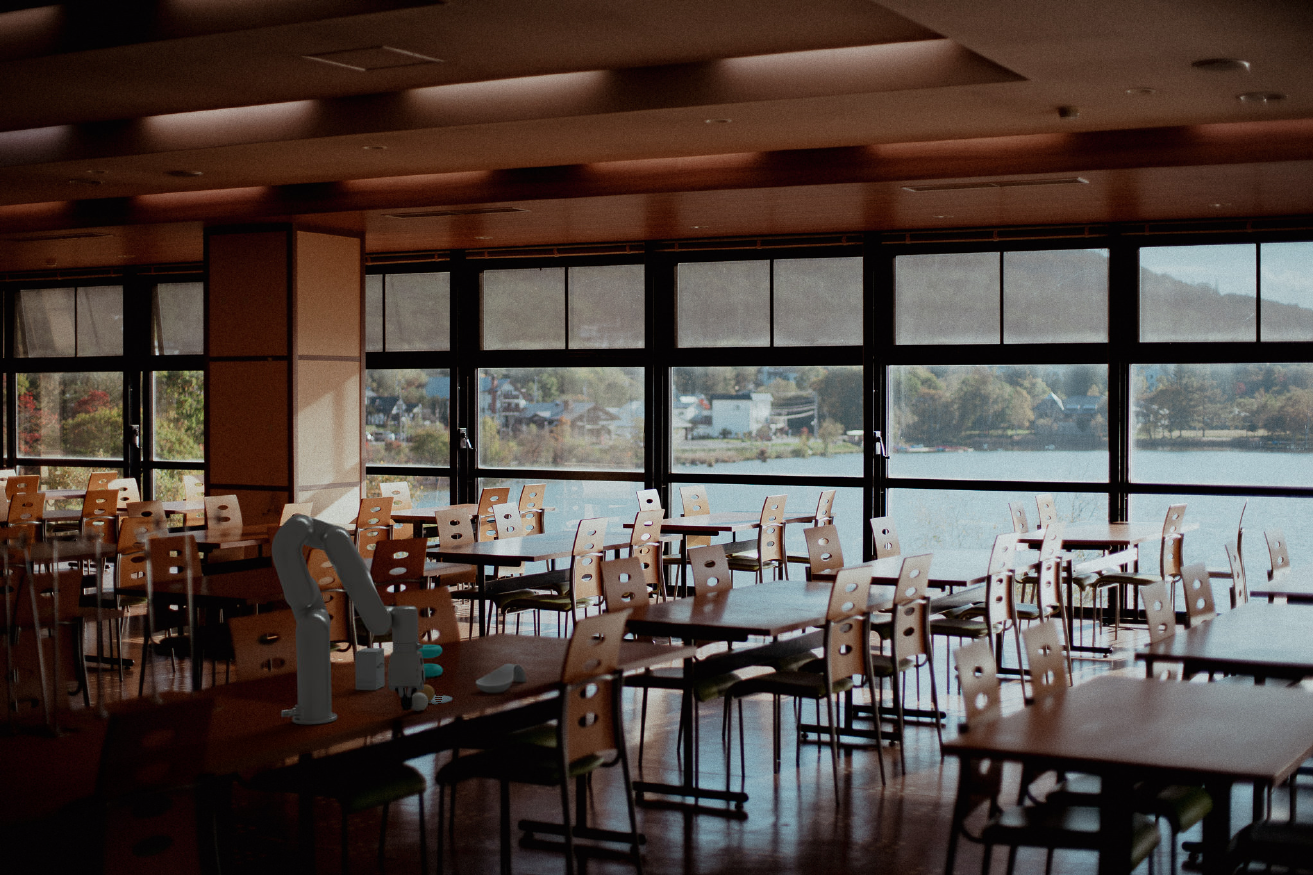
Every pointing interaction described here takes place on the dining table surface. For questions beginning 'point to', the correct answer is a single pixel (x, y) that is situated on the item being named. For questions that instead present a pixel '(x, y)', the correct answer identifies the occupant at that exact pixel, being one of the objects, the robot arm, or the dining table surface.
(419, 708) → the cue ball
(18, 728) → the dining table surface
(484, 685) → the spoon rest
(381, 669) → the supplement box
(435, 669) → the donuts
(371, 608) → the robot arm
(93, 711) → the dining table surface
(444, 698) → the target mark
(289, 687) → the dining table surface
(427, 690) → the orange ball
